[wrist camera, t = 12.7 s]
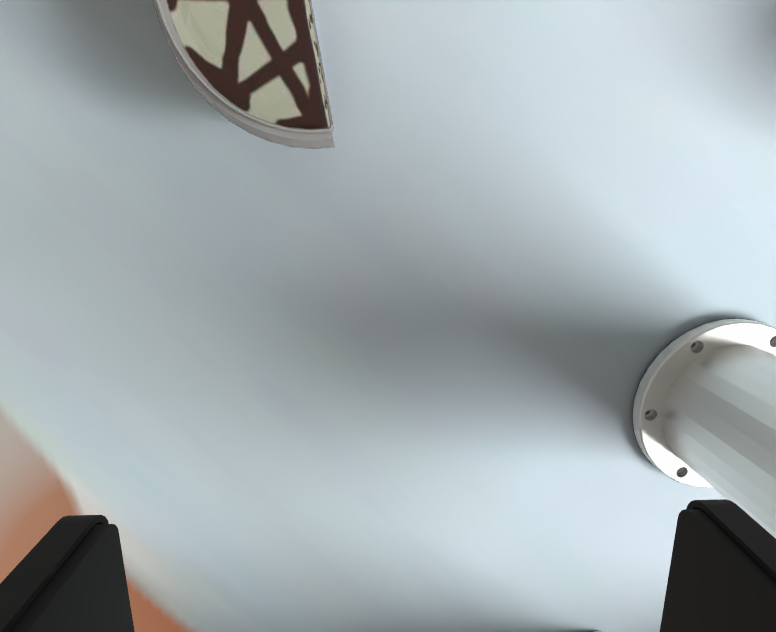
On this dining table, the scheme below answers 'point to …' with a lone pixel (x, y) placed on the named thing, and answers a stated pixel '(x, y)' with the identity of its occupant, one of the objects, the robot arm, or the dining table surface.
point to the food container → (254, 65)
